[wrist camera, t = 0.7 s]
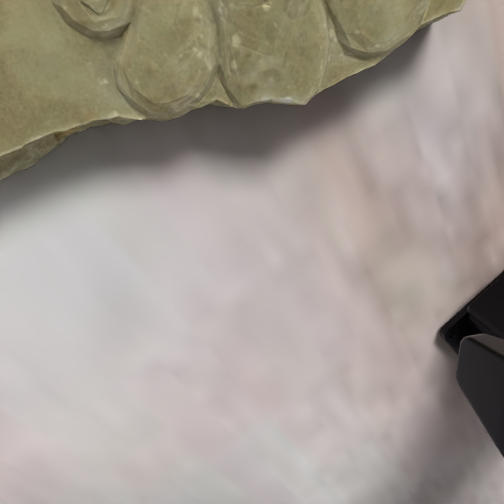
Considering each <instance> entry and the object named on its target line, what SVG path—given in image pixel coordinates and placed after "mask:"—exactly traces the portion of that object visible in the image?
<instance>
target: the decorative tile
mask: <svg viewBox="0 0 504 504" xmlns="http://www.w3.org/2000/svg"><path fill="white" fill-rule="evenodd" d="M464 3H465V0H0V180H2V179H4V178H6V177H8V176H10V175H12V174H14V173H16V172H18V171H21V170H24V169H27V168H29V167H31V166H32V165H34V164H35V163H37V162H38V161H39V160H40V158H41V157H43V156H45V155H46V154H48V153H49V152H51V151H52V150H53V149H55V148H56V147H57V146H59V145H60V144H62V143H63V142H64V141H65V139H66V138H67V137H68V136H69V135H71V134H74V133H78V132H84V131H85V130H86V129H88V128H89V127H97V126H104V125H107V124H109V123H115V124H121V125H126V124H129V123H131V122H134V121H135V120H156V121H157V122H159V121H169V120H172V119H175V118H179V117H181V116H183V115H184V114H186V113H188V112H189V111H191V110H194V109H198V108H201V107H203V106H205V105H207V104H210V105H214V106H219V107H227V108H229V107H234V108H240V109H245V108H247V107H250V106H253V105H257V104H263V103H272V104H287V105H290V106H292V105H306V104H307V103H308V102H309V101H310V100H311V99H312V98H313V97H314V96H315V95H316V94H318V93H319V92H321V91H322V90H324V89H326V88H328V87H330V86H333V85H335V84H336V83H338V82H340V81H341V80H343V79H344V78H346V77H348V76H351V75H353V74H356V73H358V72H360V71H362V70H364V69H366V68H369V67H372V66H374V65H376V64H377V63H379V62H380V61H382V60H383V59H384V58H385V57H386V56H387V55H389V54H390V53H391V52H392V51H393V50H395V49H396V48H397V47H399V46H400V45H402V44H403V43H405V42H406V41H407V40H408V39H409V38H410V37H411V36H412V35H413V34H414V32H416V31H417V30H419V29H421V28H423V27H425V26H427V25H429V24H431V23H433V22H436V21H438V20H441V19H443V18H444V17H446V16H448V15H450V14H452V13H455V12H459V11H461V10H462V7H463V5H464Z"/></svg>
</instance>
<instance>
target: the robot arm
mask: <svg viewBox="0 0 504 504" xmlns="http://www.w3.org/2000/svg"><path fill="white" fill-rule="evenodd" d="M451 331H452V332H451ZM450 332H451V333H450ZM449 333H450V334H449ZM440 335H441V337H442V338H443V339H444V340H445V341H446V342H447V343H448V344H449V346H450V347H451V348H452V349H453V350H454V351H455V352H456V353H457V354H458V355H459V356H458V363H457V370H456V377H457V381H458V384H459V386H460V388H461V390H462V391H463V393H464V395H465V396H466V398H467V399H468V401H469V403H470V404H471V406H472V408H473V409H474V411H475V412H476V414H477V416H478V417H479V419H480V421H481V422H482V424H483V425H484V427H485V429H486V430H487V432H488V434H489V435H490V437H491V439H492V440H493V442H494V443H495V445H496V447H497V448H498V450H499V451H500V453H501V454H502V456H503V457H504V272H503V273H502V274H501V275H499V276H498V277H497V278H496V279H495V280H494V281H493V282H492V283H491V284H489V285H488V286H487V287H486V288H485V289H484V290H483V291H482V292H481V293H480V294H478V295H477V296H476V297H475V298H474V299H473V300H472V301H471V302H470V303H468V304H467V305H466V306H465V307H464V308H463V309H462V310H461V311H460V312H458V313H457V314H456V315H455V316H454V317H453V318H452V319H451V320H450V321H449V322H447V323H446V324H445V325H444V326H443V327H442V329H441V331H440Z"/></svg>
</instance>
